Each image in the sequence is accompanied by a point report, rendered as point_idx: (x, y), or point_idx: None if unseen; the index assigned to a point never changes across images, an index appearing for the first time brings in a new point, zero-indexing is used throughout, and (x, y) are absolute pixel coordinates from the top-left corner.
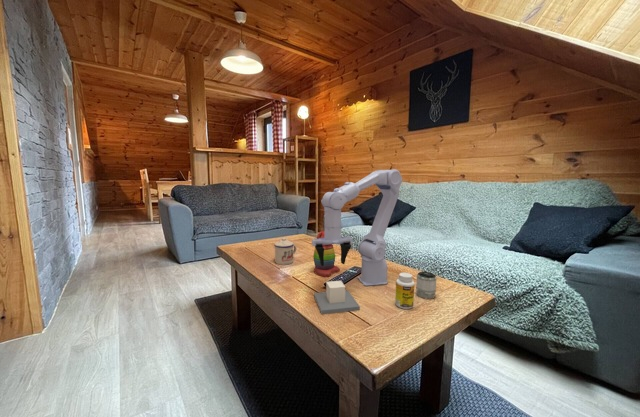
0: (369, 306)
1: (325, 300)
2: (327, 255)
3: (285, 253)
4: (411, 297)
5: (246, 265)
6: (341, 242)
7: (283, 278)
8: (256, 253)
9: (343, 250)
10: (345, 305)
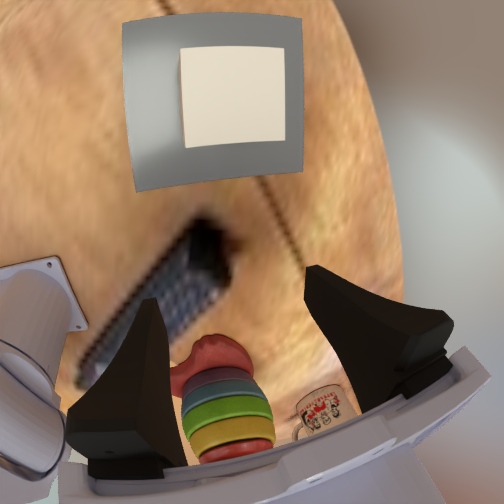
0: (72, 61)
1: None
2: (223, 417)
3: (335, 413)
4: None
5: None
6: (190, 479)
7: None
8: (358, 412)
9: (153, 395)
10: (186, 32)
